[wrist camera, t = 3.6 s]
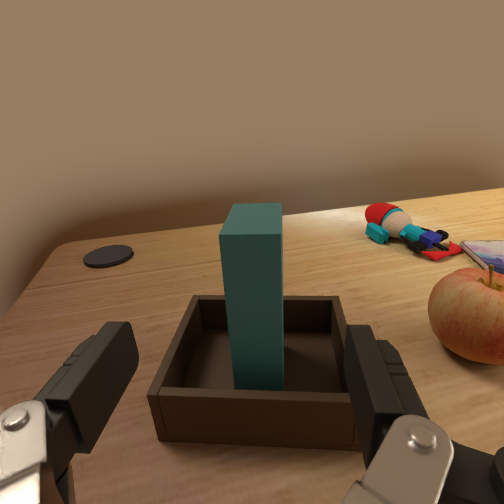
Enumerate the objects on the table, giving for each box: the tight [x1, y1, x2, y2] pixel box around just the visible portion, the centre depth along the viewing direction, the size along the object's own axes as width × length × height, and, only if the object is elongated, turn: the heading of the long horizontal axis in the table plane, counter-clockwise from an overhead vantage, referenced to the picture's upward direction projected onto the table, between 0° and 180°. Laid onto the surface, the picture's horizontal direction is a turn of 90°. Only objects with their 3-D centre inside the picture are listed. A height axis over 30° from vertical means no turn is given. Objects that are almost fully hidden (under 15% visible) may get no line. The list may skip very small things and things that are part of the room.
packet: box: [219, 203, 284, 391], centre depth 23 cm, size 4×6×13 cm, turn 175°
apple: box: [428, 264, 504, 365], centre depth 26 cm, size 8×8×8 cm
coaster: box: [83, 245, 133, 268], centre depth 49 cm, size 7×7×1 cm
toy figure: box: [365, 203, 463, 260], centre depth 48 cm, size 8×5×15 cm
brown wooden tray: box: [147, 295, 362, 451], centre depth 25 cm, size 13×11×4 cm
